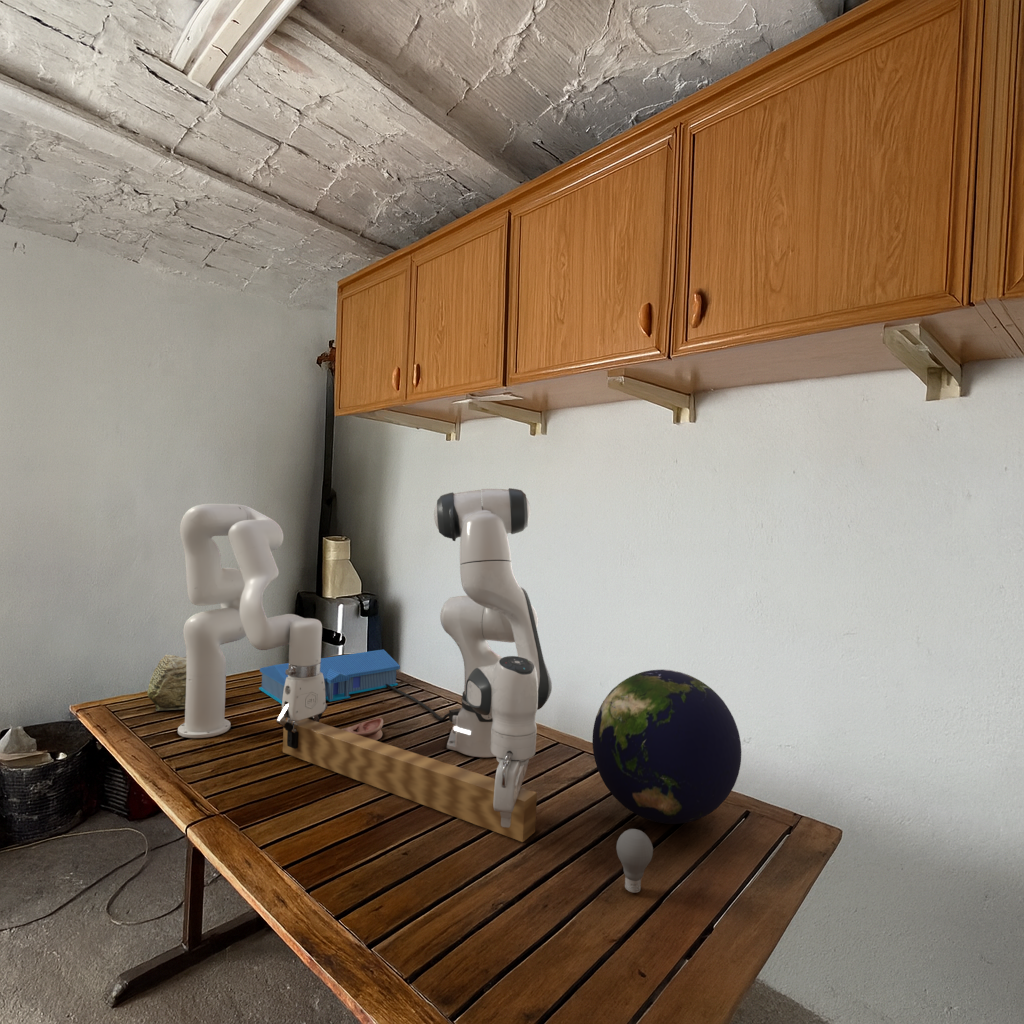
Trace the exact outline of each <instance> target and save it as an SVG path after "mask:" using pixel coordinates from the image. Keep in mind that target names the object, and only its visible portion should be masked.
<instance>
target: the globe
mask: <svg viewBox="0 0 1024 1024" xmlns="http://www.w3.org/2000/svg"><path fill="white" fill-rule="evenodd" d="M592 753H593V758H594V763H595V765H596V768H597V772H598V774H599V775H600V778H601V780H602V782H603V783H604V785H605V787H606V788H607V790H608V791H609V792H610V794H611V795H612V796H613V797H614V799H616V801H618V802H619V803H620V804H621V805H622V806H623V807H625V808H626V809H627V810H629V812H631V813H633V814H635V815H637V816H638V817H641V818H643V819H645V820H648V821H651V822H654V823H659V824H664V825H665V824H666V825H681V824H687V823H691V822H695V821H698V820H700V819H702V818H704V817H706V816H708V815H710V814H711V813H713V812H714V811H715V810H717V808H720V806H721V805H722V804H723V803H724V801H726V799H727V798H728V797H729V795H730V794H731V792H732V791H733V788H734V787H735V785H736V783H737V780H738V777H739V774H740V770H741V765H742V742H741V736H740V732H739V728H738V725H737V723H736V720H735V718H734V716H733V714H732V711H731V710H730V709H729V707H728V706H727V704H726V703H725V701H724V700H723V698H721V696H719V694H718V693H717V692H716V691H715V690H714V689H712V688H711V686H709V685H707V684H706V683H705V682H703V681H701V680H700V679H698V678H696V677H694V676H692V675H690V674H688V673H684V672H682V671H676V670H672V669H665V668H664V669H650V670H645V671H640V672H638V673H636V674H633V675H631V676H629V677H627V678H626V679H624V680H622V681H621V682H619V683H618V684H617V685H616V686H615V687H613V688H612V689H611V690H610V691H609V693H608V694H607V695H606V696H605V698H604V699H603V701H602V702H601V705H600V706H599V708H598V711H597V713H596V716H595V719H594V723H593V728H592Z"/></svg>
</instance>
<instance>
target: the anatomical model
mask: <svg viewBox="0 0 1024 1024" xmlns="http://www.w3.org/2000/svg"><path fill="white" fill-rule="evenodd" d="M383 727H384V719H383V718H382V717H378V718H373V719H369V720H365V721H363V722H359V723H357V724H354V725H351V726H347V727H344V728H340V729H341V730H345V731H348V732H351V733H354V734H357V735H360V736H363V737H366V738H369V739H373V740H376V741H378V740H380V739H381V738H382V737H383V731H382V730H381V729H382V728H383Z"/></svg>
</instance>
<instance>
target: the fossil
mask: <svg viewBox="0 0 1024 1024" xmlns="http://www.w3.org/2000/svg"><path fill="white" fill-rule="evenodd" d="M186 666H187V657H186V656H183V657H182V656H178V655H175V654H174V655H173V654H165V655H164V656H163V657H162V658H161V659H160V660H159V662H158V663H157V666H156V667H155V669H154V670H153V672H152V675H151V677H150V680H149V684H148V688H147V697H148V699H149V700H150V701H152V703H153V704H154V706H155V711H158V712H159V711H162V712H163V711H177V710H185V701H186Z"/></svg>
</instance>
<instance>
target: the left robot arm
mask: <svg viewBox="0 0 1024 1024" xmlns="http://www.w3.org/2000/svg"><path fill="white" fill-rule="evenodd" d="M179 525H180V526H179V532H180V533H179V534H180V539H181V543H182V547H183V551H184V558H185V576H186V590H187V598H188V599H189V602H190V603H191V604H193V605H194V606H198V607H206V606H213V605H219V604H220V608H215V609H209V610H204V611H199V612H196V613H194V614H192V615H191V616H190V617H188V619H186V620H185V623H184V625H183V630H182V631H183V632H182V634H183V640H184V646H185V657H187V666H186V701H185V709H184V722H182V724H180V725H179V726H178V727H177V734H178V735H179V736H180V737H182V738H188V739H207V738H212V737H216V736H220V735H222V734H224V733H227V732H228V731H230V729H231V727H232V725H231V723H232V722H231V721H230V720H228V719H226V718H225V715H226V692H227V691H226V689H227V659H226V656H225V654H224V652H223V651H222V649H221V646H222V645H226V644H229V643H234V642H237V641H240V640H243V639H245V638H246V637H247V640H248V641H249V643H250V644H251V646H252V647H254V648H255V649H257V650H259V651H268V650H273V649H276V648H279V647H282V646H283V647H284V646H288V663H289V666H288V669H287V670H286V671H285V673H286V675H288V677H286V681H285V686H284V691H283V699H282V704H281V712H280V714H279V715H278V717H277V719H276V721H275V722H276V723H277V724H278V725H280V726H282V728H283V729H284V728H285V730H287V731H288V732H287V746H289V747H291V748H294V749H296V748H298V732H297V731H296V730H297V726H298V722H299V721H300V720H303V719H306V718H307V719H310V720H313V721H317V722H320V719H321V718H322V716H323V714H324V713H325V711H327V709H328V705H327V703H326V700H325V683H324V677H323V673H321V672H320V669H321V658H322V639H323V638H322V637H323V624H322V622H321V620H319V619H317V618H311V617H303V616H300V615H298V614H294V613H284V614H280V615H274V616H270V617H267V614H266V611H265V608H264V604H263V596H264V593H265V591H266V589H267V587H268V586H269V585H270V584H271V583H272V582H274V581H275V580H276V579H277V578H278V576H279V574H280V570H279V568H278V566H277V562H276V560H275V558H274V556H273V552H272V551H275V550H277V549H279V548H280V547H281V546H282V544H283V542H284V532H283V528H282V527H281V525H279V523H278V522H277V521H275V520H274V519H273V518H271V517H270V516H267V515H265V514H264V513H262V512H260V511H258V510H256V509H254V508H252V507H250V506H248V505H245V504H240V503H201V504H197V505H194V506H192V507H190V508H189V509H187V510H186V512H185V513H184V514H183V516H182V517H181V521H180V524H179ZM222 536H223V537H225V536H227V537H228V541H229V544H230V547H231V550H232V552H233V555H234V557H235V560H236V564H237V566H238V568H236V567H229V566H228V567H223V566H222V565H223V564H222V555H221V551H220V548H219V546H218V545H217V543H216V542H215V540H214V539H213V537H222ZM286 720H287V721H286ZM292 721H293V725H291V724H292Z"/></svg>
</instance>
